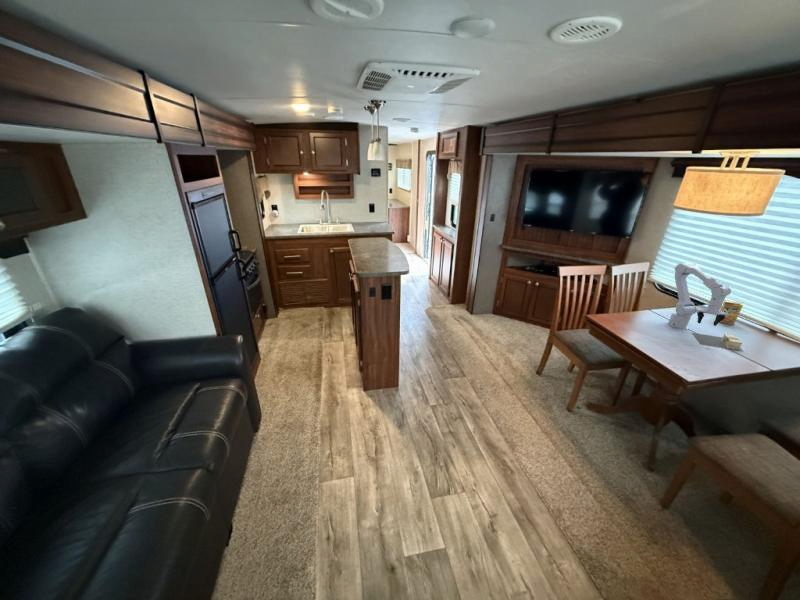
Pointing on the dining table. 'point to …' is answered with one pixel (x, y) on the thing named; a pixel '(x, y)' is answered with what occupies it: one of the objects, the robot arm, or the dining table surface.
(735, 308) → the candy box
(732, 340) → the maple block
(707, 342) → the rubber mat
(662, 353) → the dining table surface
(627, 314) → the dining table surface
